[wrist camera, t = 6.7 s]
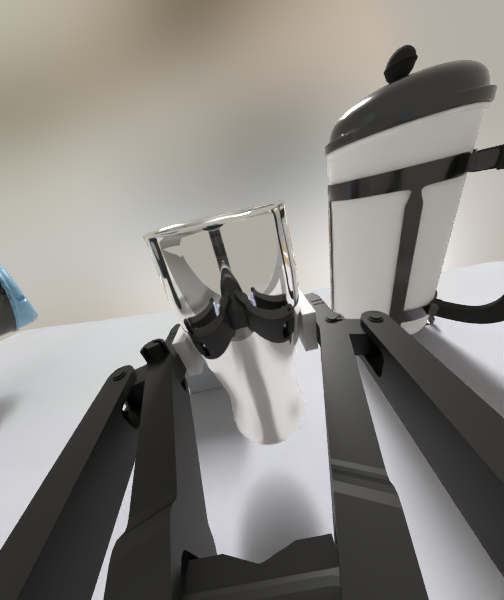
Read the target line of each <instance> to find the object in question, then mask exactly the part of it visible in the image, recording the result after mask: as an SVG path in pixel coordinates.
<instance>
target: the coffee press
mask: <svg viewBox="0 0 504 600" xmlns="http://www.w3.org/2000/svg"><path fill="white" fill-rule="evenodd" d="M417 57H418V56H417V55H416V50H415V48H414V47H413V46H411V45H405V46H403V47H401V48H399V49H398V50H397V51H396V52H395V53H394V54H393V55H392V56H391V58H390V59H389V62H388V63H387V66H386V69H385V71H384V75H385V78H386V81H387V82H388V83H389V85H387V86H384V87H382V88H380V89H379V90H377V91H375V92H373V93H372V94H370V95H368V96H367V97H365V98H363V99H362V100H360V101H359V102H357V103H356V104H355V105H354V106H352V107H351V108H350V109H349V110H348V111H346V112H345V114H343V115H342V117H341V118H340V119H339V120H338V121H337V123H336V125H335V126H334V128H333V130H332V133H331V136H330V141H329V144H328V145H327V146H326V147H325V156H327V159H328V166H327V176H328V177H330V185H328V209H329V210H328V213H329V245H330V246H329V248H330V280H331V281H330V282H331V310H332V311H334V312H336V313H340V314H341V315H343V316H344V318H346V319H360V318H361V314H362V313H364V312H366V311H380V312H383V313H385V314H387V315H389V316H390V317H391V318H392V319H393V320H394V321H395V322H396V323H398V324H399V325H400V326H401V327H402V328H403V329H404V330H405V331H407V332H408V333H409V334H410V335H412V334H414V333H416V332H418V331H419V330H421V329H422V328H423V327H424V326H425V324H431V323H433V322H434V320H435V318H434V317H433V316H438V317H442V318H446V319H450V320H455V321H460V322H466V323H476V324H489V323H496V322H501V321H504V295H503V296H502V297H501V298H499V299H498V300H496V301H494V302H492V303H489V304H486V305H482V306H467V305H460V304H455V303H450V302H445V301H442V300H440V299H436V298H437V290H436V288H437V284H438V281H439V277H440V273H441V269H442V266H443V262H444V258H445V254H446V251H447V246H448V243H449V239H450V236H451V232H452V228H453V224H454V220H455V217H456V213H457V209H458V205H459V202H460V198H461V194H462V190H463V187H464V182H465V179H466V175H467V172H476V171H482V170H488V169H494V168H497V170H499V169H504V144H503V145H499V146H495V147H491V148H487V149H483V150H479V151H477V149H474V145H475V141H476V138H477V134H478V130H479V126H480V123H481V119H482V116H483V113H484V111H485V110H486V109H487V108H488V107H489V105H490V102H491V101H493V100H494V97H495V93H496V90H497V86H496V85H490V77H489V72H488V69H487V68H486V66H484V65H483V64H481V63H480V62H477V61H472V60H459V61H452V62H447V63H443V64H440V65H436V66H433V67H429V68H426V69H423V70H421V71H418V72H415V73H413V74H411V75H409V73H410V72H411V70H412V68H413V67H414V64H415V61H416V60H417Z"/></svg>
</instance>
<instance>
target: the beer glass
mask: <svg viewBox="0 0 504 600" xmlns="http://www.w3.org/2000/svg"><path fill="white" fill-rule="evenodd" d="M143 238H144V239H145V241H146V243H147V245H148V248H149V251H150V253H151V256H152V258H153V261H154V264H155V266H156V269H157V272H158V274H159V277H160V279H161V282H162V285H163V287H164V290H165V293H166V295H167V297H168V300H169V302H170V304H171V306H172V309H173V311H174V313H175V316H176V318H177V320H178V322H179V324H180V326H181V327H182V329H183V331H184V333H185V335H186V337H187V339H188V340H189V342H190V343H191V345H192V346H193V348H194V349H195V351H196V352H197V353H198V355H199V356H200V358H201V359H202V360H203V362H204V363H205V364H206V365H207V367H208V368H209V369H210V370H211V372H212V373H213V374H214V375H215V377H216V378H217V379H218V380H219V381H220V383H221V384H222V385H223V387H224V388H225V389H226V391H227V393H228V394H229V397H230V399H231V404H232V412H233V417H234V421H235V424H236V426H237V428H238V429H239V431H240V432H241V433H242V434H243V435H244V436H245V437H246V438H247V439H248V440H250V441H252V442H254V443H256V444H260V445H275V444H279V443H281V442H284V441H286V440H287V439H289V438H290V437H291V436H292V435H293V434H294V433H295V432H296V431H297V430H298V428H299V427H300V425H301V423H302V420H303V417H304V413H305V402H304V397H303V394H302V392H301V389H300V387H299V385H298V383H297V380H296V376H295V363H296V354H297V345H298V335H299V318H300V302H299V288H298V280H297V273H296V264H295V259H294V253H293V248H292V243H291V238H290V233H289V228H288V223H287V218H286V212H285V202H284V201H274V202H268V203H263V204H258V205H253V206H249V207H244V208H240V209H236V210H231V211H227V212H223V213H218V214H214V215H211V216H206V217H203V218H198V219H195V220H191V221H187V222H183V223H180V224H176V225H173V226H169V227H166V228H162V229H159V230H156V231H153V232H150V233H147V234H145V235H144V236H143Z"/></svg>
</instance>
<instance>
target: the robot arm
mask: <svg viewBox="0 0 504 600" xmlns="http://www.w3.org/2000/svg"><path fill="white" fill-rule="evenodd" d="M299 302H300V318H299V338H300V340H301V342H302V344H303V346H304V348H305V350H306V351H309V350H313V349H318V343H319V345H320V347H321V361H322V374H323V388H324V401H325V415H326V428H327V442H328V455H329V469H330V482H331V496H332V511H333V526H334V540H335V542H334V541H333V537H332V534H327V535H322V536H317V537H311V538H306V539H301V540H296V541H294V542H293V543H291V544H290V545H288V546H287V547H285V548H284V549H282V550H281V551H279V552H278V553H276V554H275V555H274V556H272V557H271V558H269V559H268V560H266V561H265V562H263V563H260V564H257V563H253V562H250V561H246V560H242V559H239V558H235V557H232V556H228V555H225V554H220V555H217V552H216V547H215V543H214V539H213V536H212V534H211V531H210V528H209V525H208V520H207V514H206V507H205V500H204V493H203V486H202V479H201V473H200V466H199V459H198V452H197V445H196V438H195V431H194V424H193V417H192V410H191V403H190V396H189V389H188V382H187V380H186V378H185V374H186V370H187V372H188V374H189V376H194V375H199V374H202V369H203V364H204V362H203V360H202V359H201V358H200V356H199V355H198V353H197V352H196V351H195V349H194V348H193V346H192V345H191V343H190V342H189V340H188V339H187V337H186V335H185V333H184V331H183V329H182V327H181V326H180V324H176V325H175V326H174V327H173V328H172V329H171V331H170V333H169V335H168V337H167V339H166V341H164V340H163V339H156V340H153V341H151V342H149V343H147V344H146V345H144V347H143V348H142V349H141V351H140V353H141V354H142V356H143V357H144V359H145V360H146V362H147V365H145V366H142V367H140V368H138V369H136V370H134V368H133V367H132V366H130V365H127V366H123V367H121V368H119V369H117V370H115V371H114V372H113V373H112V374H111V375H110V376H109V378H108V379H107V380H106V382H105V384H104V385H103V387H102V388H101V390H100V392H99V393H98V395H97V396H96V398H95V400H94V401H93V403H92V404H91V406H90V408H89V409H88V411H87V412H86V414H85V416H84V417H83V419H82V420H81V422H80V424H79V425H78V427H77V428H76V430H75V432H74V433H73V435H72V436H71V438H70V440H69V441H68V443H67V444H66V446H65V448H64V449H63V451H62V452H61V454H60V456H59V457H58V459H57V460H56V462H55V464H54V465H53V467H52V468H51V470H50V472H49V473H48V475H47V476H46V478H45V480H44V481H43V483H42V484H41V486H40V488H39V489H38V491H37V492H36V494H35V496H34V497H33V499H32V500H31V502H30V504H29V505H28V507H27V508H26V510H25V512H24V513H23V515H22V516H21V518H20V520H19V521H18V523H17V524H16V526H15V528H14V529H13V531H12V532H11V534H10V536H9V537H8V539H7V540H6V542H5V544H4V545H3V547H2V548H1V550H0V600H91V598H92V595H93V592H94V589H95V586H96V583H97V579H98V576H99V573H100V570H101V567H102V564H103V560H104V557H105V554H106V551H107V548H108V545H109V541H110V538H111V535H112V532H113V529H114V526H115V522H116V519H117V516H118V513H119V510H120V507H121V503H122V500H123V497H124V494H125V491H126V488H127V484H128V481H129V478H130V475H131V472H132V469H133V465H134V462H135V469H134V477H133V486H132V494H131V502H130V511H129V519H128V525H127V528H126V530H125V532H124V533H123V534H122V535H121V537H120V538H119V539H118V540H117V541H116V543H115V546H114V548H113V550H112V554H111V558H110V563H109V568H108V574H107V581H106V587H105V593H104V599H103V600H429V599H428V595H427V592H426V588H425V585H424V581H423V578H422V574H421V571H420V568H419V564H418V561H417V557H416V554H415V550H414V547H413V543H412V540H411V536H410V533H409V530H408V526H407V523H406V519H405V516H404V512H403V509H402V506H401V503H400V500H399V497H398V494H397V492H396V490H395V487H394V486H393V484H392V483H391V482H390V481H389V478H388V476H387V473H386V470H385V466H384V462H383V458H382V455H381V451H380V447H379V444H378V440H377V436H376V433H375V429H374V425H373V421H372V418H371V414H370V410H369V407H368V403H367V399H366V395H365V392H364V388H363V384H362V381H361V377H360V373H359V370H358V366H357V362H356V358H355V355H359V356H360V358H361V359H362V361H363V362H364V364H365V366H366V367H367V369H368V370H369V372H370V373H371V375H372V376H373V378H374V379H375V381H376V382H377V384H378V386H379V387H380V389H381V390H382V392H383V393H384V395H385V396H386V398H387V399H388V401H389V402H390V404H391V406H392V407H393V409H394V410H395V412H396V413H397V415H398V416H399V418H400V419H401V421H402V422H403V424H404V426H405V427H406V429H407V430H408V432H409V433H410V435H411V436H412V438H413V439H414V441H415V442H416V444H417V446H418V447H419V449H420V450H421V452H422V453H423V455H424V456H425V458H426V459H427V461H428V462H429V464H430V466H431V467H432V469H433V470H434V472H435V473H436V475H437V476H438V478H439V479H440V481H441V482H442V484H443V486H444V487H445V489H446V490H447V492H448V493H449V495H450V496H451V498H452V499H453V501H454V502H455V504H456V506H457V507H458V509H459V510H460V512H461V513H462V515H463V516H464V518H465V519H466V521H467V522H468V524H469V526H470V527H471V529H472V530H473V532H474V533H475V535H476V536H477V538H478V539H479V541H480V542H481V544H482V546H483V547H484V549H485V550H486V552H487V553H488V555H489V556H490V558H491V559H492V560H493V562H494V563H495V565H496V566H497V568H498V569H499V571H500V572H501V573H502V575H503V576H504V418H503V417H502V416H500V415H499V414H498V413H497V412H496V411H495V410H494V409H493V408H492V407H490V406H489V405H488V404H487V403H486V402H485V401H484V400H483V399H481V398H480V397H479V396H478V395H477V394H476V393H475V392H474V391H473V390H471V389H470V388H469V387H468V386H467V385H466V384H465V383H464V382H462V381H461V380H460V379H459V378H458V377H457V376H456V375H455V374H453V373H452V372H451V371H450V370H449V369H448V368H447V367H446V366H445V365H443V364H442V363H441V362H440V361H439V360H438V359H437V358H436V357H434V356H433V355H432V354H431V353H430V352H429V351H428V350H427V349H426V348H424V347H423V346H422V345H421V344H420V343H419V342H418V341H417V340H415V339H414V338H413V337H412V336H411V335H410V334H409V333H408V332H407V331H405V330H404V329H403V328H402V327H401V326H400V325H399V324H398V323H396V322H395V321H394V320H393V319H392V318H391V317H390V316H389V315H387V314H385V313H383V312H380V311H366V312H364V313H362V314H361V318H360V319H346V318H344V316H343V315H341V314H340V313H336V312H333V311H332V310H331V309H330V308H329V307H328V306H327V305H326V304H325V303H324V301H323V300H322V299H321V298H320V297H319V296H318V295H316V294H314V293H310V294H306V295H303V293H302V292H301V291H300V289H299ZM37 316H38V314H37V312H36V310H35V309H34V308H33V306H32V305H31V304H30V302H29V301H28V299H27V298H26V297H25V295H24V294H23V293H22V291H21V290H20V289H19V287H18V286H17V285H16V283H15V282H14V280H13V279H12V278H11V277H10V275H9V274H8V272H7V271H6V270H5V269H4V267H3V266H2V265H1V264H0V336H2V335H4V334H7V333H9V332H13V331H17V330H18V329H19V328H21V327H23V326H25V325H27V324H30V323H32V322H33V321H35V320H36V319H37ZM124 404H125V405H126V409H125V410H124V411H123V410H122V408H123V405H124ZM135 459H136V460H135Z"/></svg>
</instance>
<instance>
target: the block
mask: <svg viewBox="0 0 504 600" xmlns="http://www.w3.org/2000/svg"><path fill="white" fill-rule="evenodd" d="M185 378H186V380H187V382H188V387H189V389H190V391H191V392H192V393H197V392H201V391H206V390H210V389H215V388H219V387H223V385H222V384H221V383H220V381H219V380H218V379H217V378H216V377H215V375H214V374H213V373H212V372H211V370H210V369H209V368H208V367H207V365H206V364H205V363H204V364H203V369H202V374H199V375H194V376H189V374H188V372H187V370H186V374H185Z"/></svg>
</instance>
